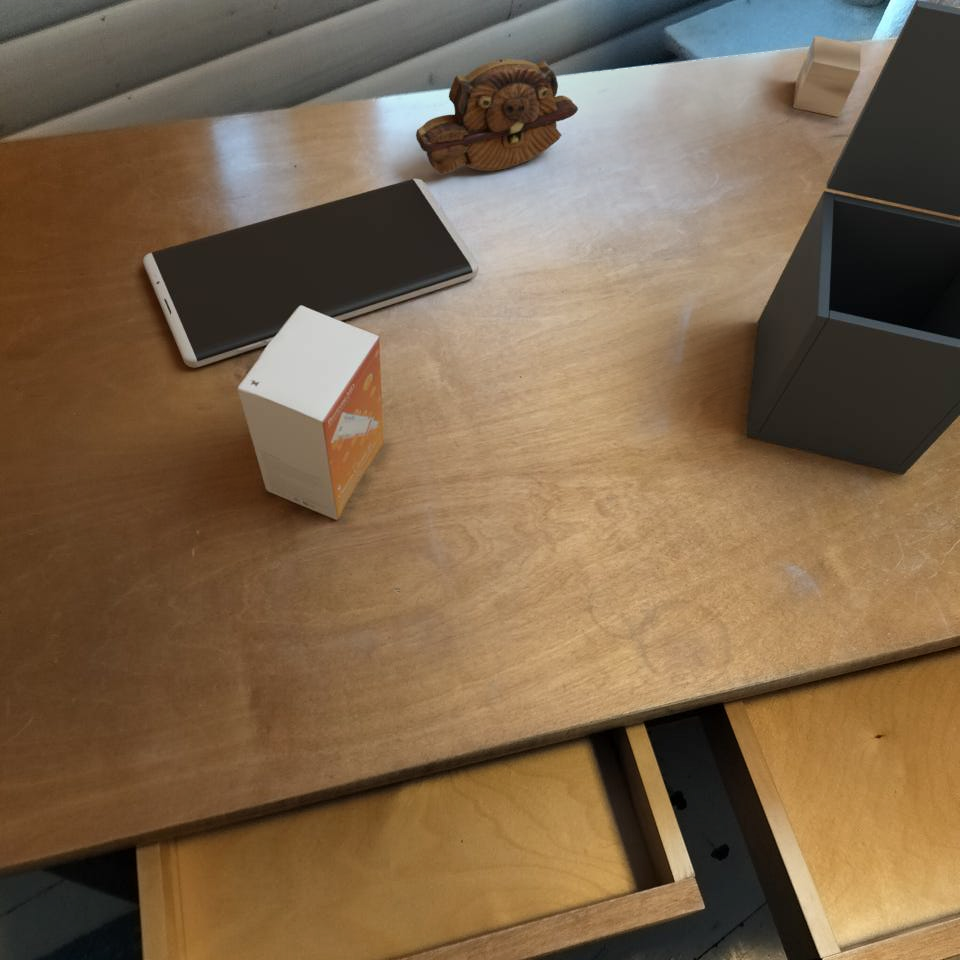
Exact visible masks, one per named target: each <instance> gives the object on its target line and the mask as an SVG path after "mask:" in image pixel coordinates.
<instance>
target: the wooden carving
mask: <svg viewBox="0 0 960 960" xmlns="http://www.w3.org/2000/svg"><path fill="white" fill-rule="evenodd" d="M557 80H558V79H557V76H556V74H555V72H554V71H553V70H552V69H551V68H550V67H549V64H548V63H547V62H546V60H544V61H540V62H537V63H533V62H532V61H528V60H524V59H514V58H502V59H497V60H494V61H493V60H492V61H488V62H486V63H484V64H482V65H480V66H478V67H476V68H474V69H473V70H471V72H469V73H467V74H466V75H464V76H463V75H460V74H459V75H455V77H454V79H453V82H452V84H451V86H450V89H449V93H448V98H449V101H450V102H451V103H452V104H453V107H454V114H443V115H440V116H437V117H434V118H432V119H431V118H430V119H429V120H427V121H426V122H425V123H424V124H423V125H421V126H420V127H419V128H418V129H417V130H416V132H415V138H416V142H417V143H418V145H419V146H420V149H421V150H422V151H423V152H426V156H427V160H428V162H429V164H430V165H431V167H432V168H433V169H434V170H435V171H436V173H437V174H438V175H446V174H450V173H451V172H454V171H455V170H457V169H459V168H461V167H462V166H464V165H465V166H466V167H468V168H471V169H473V170H477V171H486V172H487V171H500V170H504V169H510V168H512V167H516V166H519V165H520V164H523V163H525V162H528V161H530V160H532V159H533V158H535V157H538V156H539V155H540V154H542V153H543V152H545V151H547V149H549V148H550V147H551V146H552V145H554V144H556V143H557V142H558V141H560V139H561V137H562V133H561V132H560V131H559V129H557V122H560V121H564V120H566V119H569V118H571V117H572V116H574V115H575V114H577V112H578V111H579V107H578V106H577V104H575V103H574V102H573V100H572V99H571V98H570V97H568V96H565V95H557V94H558V90H559V89H558V88H559V83H558V81H557Z"/></svg>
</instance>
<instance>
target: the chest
mask: <svg viewBox="0 0 960 960" xmlns="http://www.w3.org/2000/svg"><path fill="white" fill-rule="evenodd" d="M755 331H756V332H755V340H754V341H755V342H754V350H753V360H752V370H751V380H750V390H749V400H748V409H747V418H746V419H747V420H746V428H745V429H746V430H745V438H748V439H749V438H750V439H754V440H757V441H763V442H767V443H769V444H770V443H771V444H775V445H778V446H779V445H780V446H784V447H787V448H791V449H795V450H796V449H797V450H800V451H804V452H808V453H812V454H817V455H822V456H825V457H828V458H829V457H830V458H833V459H837V460H842V461H846V462H851V463H855V464H858V465H863V466H868V467H870V468H871V467H873V468H876V469H881V470H884V471H888V472H892V473H897V474H901V475H905V474H906V473H907V472H908V471H909V470H910V469H911V468H912V467H913V466H914V465H915V464H916V463H917V461H918V460H920V458H921V457H922V456H923V455H924V454H925V453H926V452H927V451H928V450H929V449H930V448H931V447H932V446H933V444H934V443H935V442H936V441H937V440H939V438H940V437H941V436H942V435H943V434H944V433H945V432H946V431H947V430H948V428H950V427H951V425H952V424H953V423H954V422H955V421H956V420H957V419H958V418H959V417H960V219H957V218H952V217H947V216H942V215H939V214H933V213H929V212H924V211H920V210H915V209H910V208H906V207H901V206H896V205H893V204H887V203H882V202H877V201H874V200H869V199H865V198H859V197H854V196H849V195H845V194H841V193H834V192H831V191H825V190H824V191H822V193H821V196H820V197H819V200H818V201H817V204H816V206H815V207H814V209H813V212H812V213H811V216H810V218H809V219H808V221H807V223H806V226H805V228H804V229H803V232H802V233H801V235H800V237H799V239H798V241H797V243H796V245H795V247H794V249H793V251H792V253H791V254H790V257H789V258H788V261H787V263H786V264H785V266H784V269H783V270H782V272H781V275H780V276H779V278H778V281H777V282H776V284H775V286H774V288H773V290H772V292H771V294H770V296H769V298H768V300H767V302H766V304H765V306H764V308H763V310H762V312H761V314H760V316H759V318H758V320H757V322H756V330H755Z"/></svg>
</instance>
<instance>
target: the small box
mask: <svg viewBox="0 0 960 960" xmlns="http://www.w3.org/2000/svg"><path fill="white" fill-rule="evenodd" d="M380 347H381V346H380V336H379V335H377V334H375V333H373V332H369V331H367V330H365V329H362V328H360V327H356V326H354V325H352V324H349V323H346V322H344V321H339V320H336V319H334V318H331V317H329V316H326V315H324V314H321V313H319V312H316V311H314V310H311V309H309V308H307V307H304V306H301V305H300V306H299V307H298V308H297V309H296V310H295V311H294V313H293V314H292V315H291V317H290V318H289V319H288V320H287V322H286V323H285V324H284V326H283V327H282V328H281V329H280V331H279V332H278V333H277V335H276V336H275V337H274V338H273V339H272V340H271V341H270V343H269V344H268V345H266V347H265V348H264V349H263V351H262V352H261V353H260V355H259V357H258V358H257V359H256V362H255V363H254V364H253V366H252V367H251V369H250V370H249V371H248V373H247V374H246V376H245V377H244V378H243V380H242V381H241V382H240V384H239V385H238V386H237V392H238V396H239V399H240V403H241V407H242V410H243V413H244V418H245V421H246V424H247V427H248V431H249V434H250V437H251V438H250V439H251V442H252V445H253V448H254V452H255V455H256V459H257V462H258V463H257V464H258V466H259V469H260V473H261V476H262V480H263V484H264V488H265V490H266V491H267V492H268V493H271V494H274V495H276V496H278V497H280V498H283V499H285V500H288V501H290V502H292V503H295V504H297V505H300V506H302V507H305V508H307V509H309V510H312V511H313V512H316V513H319V514H321V515H324V516H326V517H328V518H331V519H333V520H336V521H337V520H339V519H340V517H341V515H342V514H343V511H344V509H345V508H346V507H347V504H348V502H349V501H350V499H351V497H352V496H353V494H354V492H355V491H356V489H357V487H358V486H359V484H360V482H361V480H362V479H363V478H364V475H365V474H366V472H367V470H368V469H369V467H370V465H371V464H372V462H373V460H374V459H375V457H376V456H377V454H378V452H380V449H382V447H383V445H384V442H385V438H384V417H383V396H382V371H381V349H380Z"/></svg>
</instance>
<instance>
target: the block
mask: <svg viewBox="0 0 960 960" xmlns="http://www.w3.org/2000/svg"><path fill="white" fill-rule="evenodd" d="M861 52H862V45H861V44H859V43H855V42H850V41H844V40H839V39H835V38H830V37H826V36H819V35H814V36H813V39H812V41H811V43H810V46H809V48H808V51H807V53H806V56H805V58H804V60H803V63H802V65H801V66H800V67H801V68H800V70H799V72H798V75H797V77H796V80H795V85H794V95H793V96H794V97H793V105H792V106H793V109H797V110H801V111H807V112H810V113H811V112H813V113H817V114H821V115H826V116H831V117H836V118H839V117H840V114H841V113H842V110H843V109H844V106H845V104H846V102H847V100H848V98H849V96H850V94H851V91H852V90H853V87H854V86H855V83H856V82H857V79H858V77H859V74H860V73H861V61H862V60H861V59H862V58H861V57H862V56H861V55H862V53H861Z"/></svg>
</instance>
